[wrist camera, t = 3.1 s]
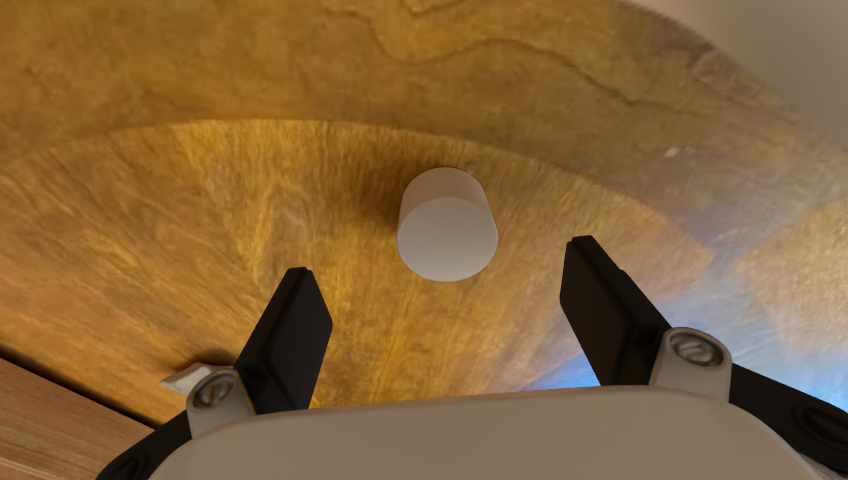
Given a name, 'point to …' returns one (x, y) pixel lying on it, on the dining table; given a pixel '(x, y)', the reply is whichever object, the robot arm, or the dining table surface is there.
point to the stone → (189, 377)
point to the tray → (57, 430)
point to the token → (445, 226)
